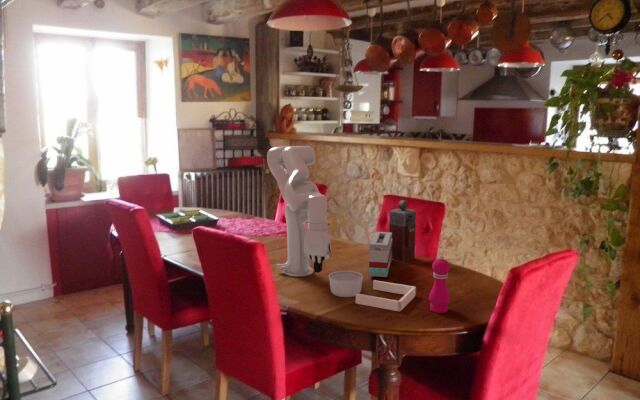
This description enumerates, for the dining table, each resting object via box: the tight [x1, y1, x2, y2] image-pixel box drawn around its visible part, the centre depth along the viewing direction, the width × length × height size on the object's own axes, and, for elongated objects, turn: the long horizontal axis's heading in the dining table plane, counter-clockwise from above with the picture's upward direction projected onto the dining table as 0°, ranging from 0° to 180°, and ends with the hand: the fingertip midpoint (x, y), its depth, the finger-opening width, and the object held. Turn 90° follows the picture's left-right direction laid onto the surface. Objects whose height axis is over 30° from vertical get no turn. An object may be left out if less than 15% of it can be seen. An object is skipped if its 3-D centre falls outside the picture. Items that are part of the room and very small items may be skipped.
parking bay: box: [355, 279, 417, 313], centre depth 195 cm, size 17×18×4 cm
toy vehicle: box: [368, 231, 393, 278], centre depth 231 cm, size 8×30×15 cm, turn 169°
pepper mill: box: [428, 254, 451, 314], centre depth 183 cm, size 7×7×20 cm
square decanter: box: [388, 199, 417, 263], centre depth 245 cm, size 9×11×28 cm
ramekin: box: [328, 270, 364, 298], centre depth 202 cm, size 13×13×7 cm
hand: (318, 271), depth 206 cm, fingers closed
